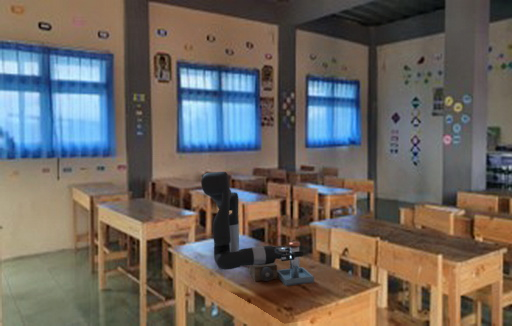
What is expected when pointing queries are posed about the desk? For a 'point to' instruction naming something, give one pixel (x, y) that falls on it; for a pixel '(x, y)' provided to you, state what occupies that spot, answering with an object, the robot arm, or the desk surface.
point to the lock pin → (294, 263)
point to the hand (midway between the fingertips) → (299, 251)
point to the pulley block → (263, 272)
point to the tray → (303, 278)
